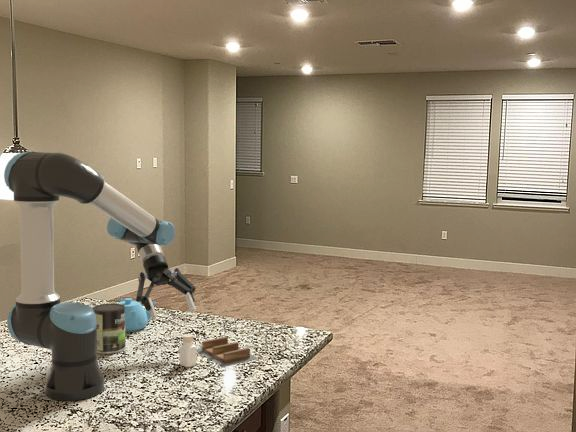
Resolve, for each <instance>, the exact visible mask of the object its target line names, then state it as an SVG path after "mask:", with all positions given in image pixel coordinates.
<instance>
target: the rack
mask: <svg viewBox="0 0 576 432" xmlns="http://www.w3.org/2000/svg"><path fill="white" fill-rule="evenodd" d="M228 343H229V338H228V336H223V337H217V338H212V339H209V340H203V341H202V342H201V348H202V351H204V352H206V353H208V354H209V355H211V356H213V357H215V358H217V359H218V360H220V361H222V362H224V363H225V364H226V363H230V362H234V361H238V360H242V359H247V358H250V354H251V348H250V347H244V348H240V347H239V344H240V343H239V342H238V341H235V342H230V343H229V344H228ZM239 348H240V349H239Z"/></svg>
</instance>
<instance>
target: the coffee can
mask: <svg viewBox="0 0 576 432" xmlns="http://www.w3.org/2000/svg"><path fill="white" fill-rule="evenodd" d="M91 308H92V309H93V310H94V311H95V316H96V322H97V354H100V355H101V354H102V355H112V354H118V353H121V352H123V351H125V350H126V348H127V347H126V332H125V306H124V305H122V304H117V303H115V302H114V303H112V302H111V303H103V304H102V303H101V304H97V305H95V306H93V307H91Z"/></svg>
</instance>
